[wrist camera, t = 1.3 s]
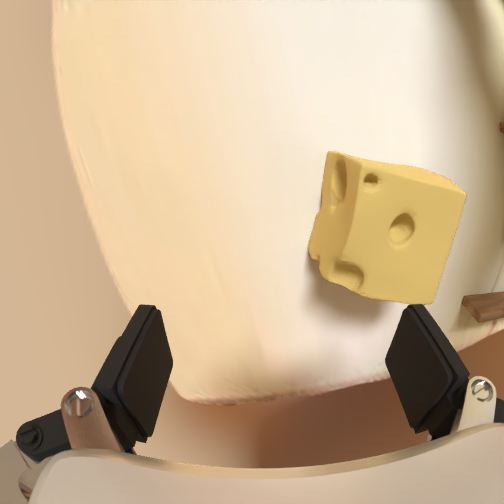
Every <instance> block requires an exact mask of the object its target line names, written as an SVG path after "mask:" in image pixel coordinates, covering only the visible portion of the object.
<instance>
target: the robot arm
mask: <svg viewBox="0 0 504 504" xmlns="http://www.w3.org/2000/svg"><path fill="white" fill-rule="evenodd" d="M385 363H386V366H387V369H388V371H389V373H390V376H391V378H392V380H393V383H394V385H395V388H396V390H397V393H398V396H399V398H400V401H401V403H402V406H403V408H404V411H405V414H406V417H407V419H408V422H409V425H410V427H412V428H414V430H415V434H417V433H420V432H423V431H426V430H427V429H428V431H429V436H428V438H427V441H426V443H423V444H420V445H417V446H413V447H410V448H407V449H403V450H399V451H396V452H392V453H388V454H384V455H380V456H375V457H370V458H365V459H360V460H354V461H349V462H342V463H336V464H328V465H319V466H309V467H297V468H271V469H270V468H269V469H250V468H249V469H248V468H227V467H214V466H203V465H195V464H186V463H179V462H173V461H166V460H161V459H155V458H150V457H145V456H139V455H137V454H136V452H135V451H134V449H133V447H134V446H135V443H136V441H139V442H144V443H146V441H147V437H151V436H152V434H153V431H154V428H155V424H156V420H157V417H158V413H159V410H160V407H161V403H162V400H163V396H164V393H165V390H166V387H167V383H168V380H169V377H170V374H171V370H172V367H173V359H172V355H171V351H170V347H169V344H168V340H167V336H166V332H165V328H164V323H163V319H162V315H161V311H160V310H157V309H156V307H155V306H154V305H142V304H141V305H139V306H138V308H137V310H136V311H135V313H134V315H133V317H132V318H131V320H130V322H129V323H128V325H127V327H126V329H125V331H124V332H123V334H122V336H120V337H119V338H118V339H117V340H116V342H115V344H114V346H113V347H112V349H111V351H110V353H109V355H108V357H107V358H106V360H105V362H104V364H103V366H102V368H101V370H100V372H99V374H98V375H97V377H96V379H95V381H94V383H93V385H92V387H91V389H89V388H86V387H78V388H74V389H72V390H70V391H69V392H67V393H66V394H65V396H64V397H63V399H62V401H61V409H59V410H57V411H54V412H52V413H49V414H47V415H44V416H42V417H39V418H36V419H34V420H32V421H29V422H26V423H24V424H23V425H22V426H21V427H20V428H19V429H18V431H17V435H16V441H15V442H14V441H13V440H10V442H8V443H6V444H5V445H4V446H3V447H1V448H0V504H504V401H503V400H501V399H498V398H496V389H495V387H494V385H493V384H492V382H491V381H490V380H488V379H487V378H485V377H481V376H476V377H473V378H472V379H471V380H470V381H469V379H468V376H469V375H470V373H469V372H468V370H467V368H466V367H465V366H464V364H463V362H462V360H461V359H460V357H459V356H458V354H457V353H456V351H455V349H454V348H453V346H452V345H451V343H450V342H449V340H448V339H447V337H446V336H445V335H444V333H443V332H442V330H441V329H440V327H439V326H438V325H437V323H436V322H435V320H434V319H433V318H432V316H431V315H430V313H429V312H428V311H427V309H426V308H425V307H424V305H423V304H411V305H408V306H407V308H406V309H404V310H403V313H402V316H401V319H400V321H399V324H398V327H397V330H396V332H395V335H394V337H393V340H392V343H391V345H390V348H389V350H388V352H387V355H386V358H385Z"/></svg>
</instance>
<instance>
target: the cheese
mask: <svg viewBox="0 0 504 504" xmlns="http://www.w3.org/2000/svg"><path fill="white" fill-rule="evenodd" d="M466 196H467V195H466V193H465V192H464V191H463V190H461V189H460V188H459V187H458V186H457V185H456V184H455V183H453V182H452V181H451V180H449V179H447V178H446V177H443V176H441V175H439V174H436V173H434V172H431V171H428V170H425V169H421V168H417V167H413V166H406V165H397V164H389V163H382V162H377V161H371V160H366V159H362V158H357V157H353V156H350V155H346V154H343V153H340V152H336V151H328V153H327V158H326V164H325V171H324V177H323V184H322V205H321V209H320V212H318V213H317V215H316V218H315V222H314V227H313V230H312V233H311V237H310V240H309V245H308V249H309V254H310V256H311V258H312V259H313V260H316V261H318V262H320V264H319V271H320V274H321V275H322V277H323V278H324V279H325V280H326V281H328V282H331V283H335V284H339V285H342V286H344V287H346V288H347V289H349V290H351V291H352V292H354V293H356V294H358V295H361V296H363V297H366V298H371V299H379V300H386V301H393V302H400V303H406V304H423V305H425V304H431V303H432V302H433V300H434V298H435V295H436V292H437V289H438V286H439V283H440V280H441V277H442V273H443V270H444V267H445V264H446V261H447V258H448V255H449V252H450V249H451V246H452V243H453V240H454V236H455V233H456V230H457V226H458V223H459V220H460V217H461V213H462V210H463V206H464V203H465V200H466Z"/></svg>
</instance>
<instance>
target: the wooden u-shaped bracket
mask: <svg viewBox="0 0 504 504" xmlns="http://www.w3.org/2000/svg"><path fill="white" fill-rule="evenodd" d="M500 131H501V132H503V133H504V123H501V122H500ZM462 304H463V305H464V306H465V307H466V308H467V310H468V311H469V312H470V313H471V314H472V316H473V317H474V318H475V319H476V321H477V322H478V323H479V322H484V321H489V320H494V319H498V318H503V317H504V292H497V293H488V294H480V295H470V296H464V298H463V301H462Z"/></svg>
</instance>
